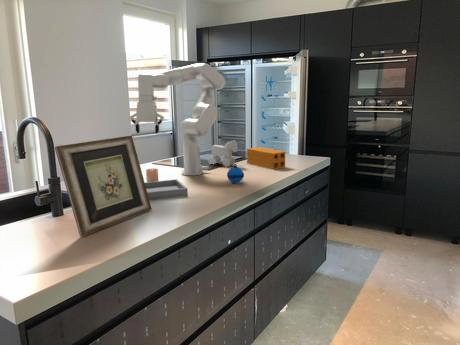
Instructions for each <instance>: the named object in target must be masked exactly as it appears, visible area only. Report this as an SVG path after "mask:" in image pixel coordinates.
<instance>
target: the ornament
mask: <svg viewBox="0 0 460 345" xmlns="http://www.w3.org/2000/svg"><path fill="white" fill-rule="evenodd" d="M226 177H227V179H228V180H229V182H230V183H233V184H239V183H240V182H241V181H243V178H244V177H245V173H244V171H243V170H242V169H241V168H240V167H239V166H238V165H237V163H235V164H234V165H233V167H231V168H230V169H229V170H228V171H227V173H226Z"/></svg>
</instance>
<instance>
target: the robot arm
mask: <svg viewBox="0 0 460 345" xmlns="http://www.w3.org/2000/svg"><path fill="white" fill-rule="evenodd" d="M197 80H199V86H200V87H199V88H200V90H201V92H200V93H201V95H200V97H199V99H198V101H197V102H196V104H195V105H194V106H193V109H192V111H191V116H192V118H186V119H184V120H183V121H181V123H180V133H181V137H182V152H183V170H181V174H182V175H183V176H201V175H203V174H204V170H209V165H204V166H203V165H201V147H200V146H201V144H200V139H199V138H201V137H205V136H206V135H207V134H208V133H209V131H210V130H211V128H212V126H213V124H214V123H215V121H216V120H217V117H218V109H217V107H216V106H215V105H214V103H215V101H216V98H215V93H214V91H219V90H222V89H223V88H224V87H225V85H226V79H225V77H224V76H223V75H222V74H221V72H219V71H218V70H216V69H215V68H214V67H213V66H211V65H210V64H208V63H205V62H203V63H194V64H190V65H186V66H182V67H178V68H177V67H176V68H173V69H172V68H171V69H169V70H166V71H165V70H164V71H161V72H157V73H153V74H152V73H151V74H150V73H139V74H138V76H137V84H138V85H137V87H138V89H137V91H138V101H137V104H136V112H135V113H134V114H132V115H131V116H130V115H129V119H130V121H131V122H132V123H133V125H135V126H134V127H135V132H136V134H140V130H141V129H140V123H141V122H143V123H145V122H148V123H149V122H151V123H152V122H153V123H154V124H155V125H154V129H155V130H154V132H155V134H158V133H159V132H160V125H161V124H162V123H163V120H164V119H165V117H164V116H163V115H162V114H160V113H158V108H157V102H156V101H155V100H157V98H158V97H157V96H155V90H164V89H167V88H168V87H169V86H178V85H183V84H187V83H191V82H194V81H197ZM135 117H136V120H135ZM159 118H160V119H159Z"/></svg>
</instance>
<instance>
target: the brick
mask: <svg viewBox="0 0 460 345" xmlns="http://www.w3.org/2000/svg"><path fill="white" fill-rule="evenodd" d="M246 164H248V165H252V166H256V167H260V168H265V169H269V170H274V171H275V170H278V169H283V168H284V169H285V168H286V151H285V150H284V151H282V150H277V149H271V148H266V147H260V146H259V147H251V148H250V147H249V148H246Z"/></svg>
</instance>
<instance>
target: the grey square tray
mask: <svg viewBox="0 0 460 345" xmlns="http://www.w3.org/2000/svg"><path fill="white" fill-rule="evenodd" d="M144 182H145V181H144ZM145 186H146V190H147V193H148V197H149V201H155V200H165V199H172V198H180V197H181V198H182V197H187V196H189V193H188V192H189V190H188V188H187V186H185V185H184V184H183V182H181V181H180V180H179V179H177V178H176V179H175V178H174V179H166V180H159V181H155V182H147V181H146V182H145Z"/></svg>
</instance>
